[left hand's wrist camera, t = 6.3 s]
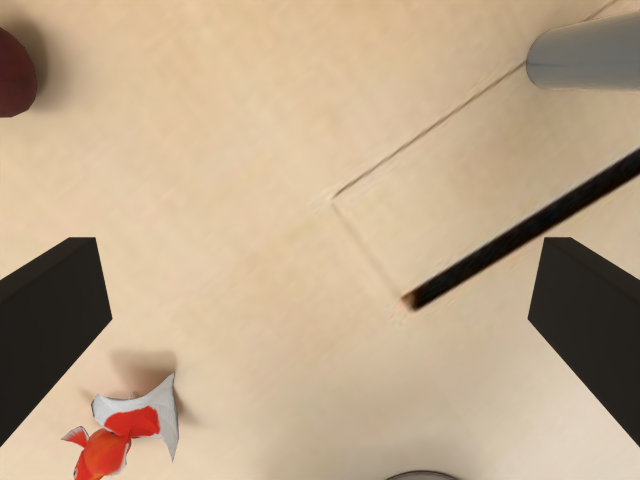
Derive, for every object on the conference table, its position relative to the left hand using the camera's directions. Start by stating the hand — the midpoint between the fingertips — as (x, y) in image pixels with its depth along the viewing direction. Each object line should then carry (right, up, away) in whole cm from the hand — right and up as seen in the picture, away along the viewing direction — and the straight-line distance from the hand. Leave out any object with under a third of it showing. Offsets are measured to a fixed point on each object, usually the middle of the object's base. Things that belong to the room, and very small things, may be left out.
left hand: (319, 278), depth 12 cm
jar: (+20, +17, +24) cm, 35 cm away
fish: (-22, -18, +37) cm, 47 cm away
